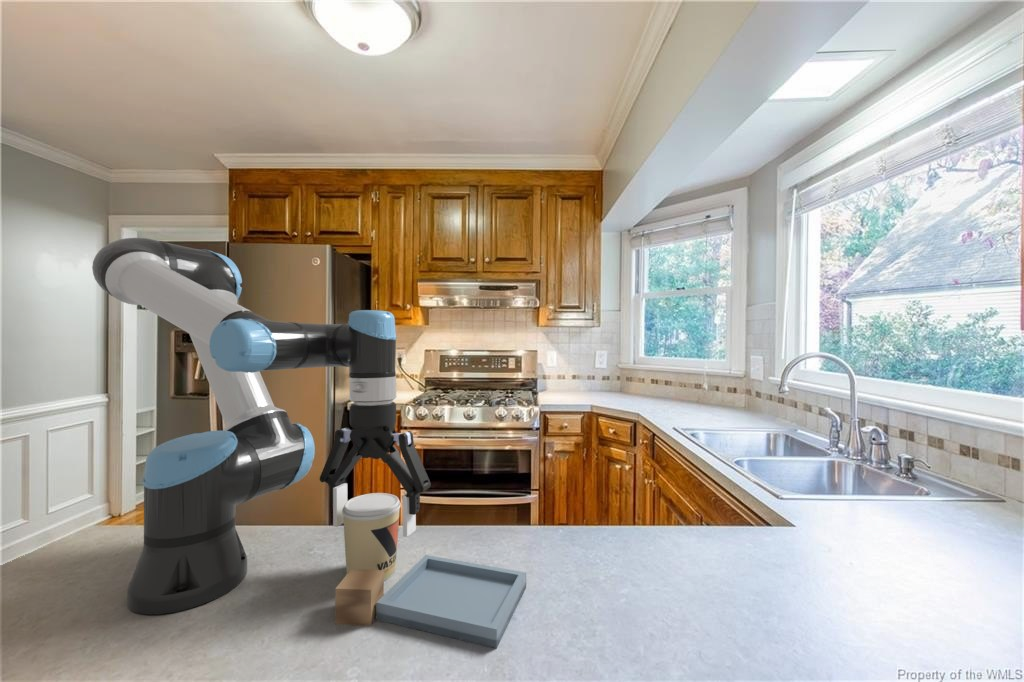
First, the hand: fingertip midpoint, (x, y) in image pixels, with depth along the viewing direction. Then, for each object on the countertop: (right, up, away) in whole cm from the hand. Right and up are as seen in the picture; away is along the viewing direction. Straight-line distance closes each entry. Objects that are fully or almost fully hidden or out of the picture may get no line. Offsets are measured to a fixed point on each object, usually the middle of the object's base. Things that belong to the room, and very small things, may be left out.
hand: (374, 528), depth 71 cm
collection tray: (+15, -8, -8) cm, 18 cm away
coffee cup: (0, -8, 0) cm, 8 cm away
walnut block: (+1, -8, -10) cm, 13 cm away
